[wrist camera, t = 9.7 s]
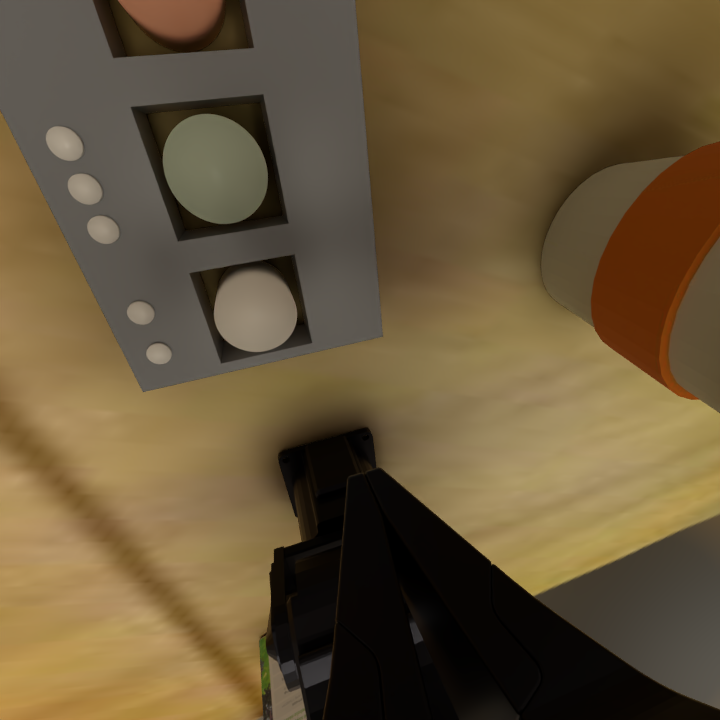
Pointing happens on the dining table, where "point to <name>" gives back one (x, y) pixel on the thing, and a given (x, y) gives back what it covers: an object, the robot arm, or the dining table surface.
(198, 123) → the button sage
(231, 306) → the button cream
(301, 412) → the dining table surface
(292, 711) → the syrup box
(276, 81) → the button panel
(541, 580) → the dining table surface
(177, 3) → the button terracotta
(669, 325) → the reusable coffee cup
